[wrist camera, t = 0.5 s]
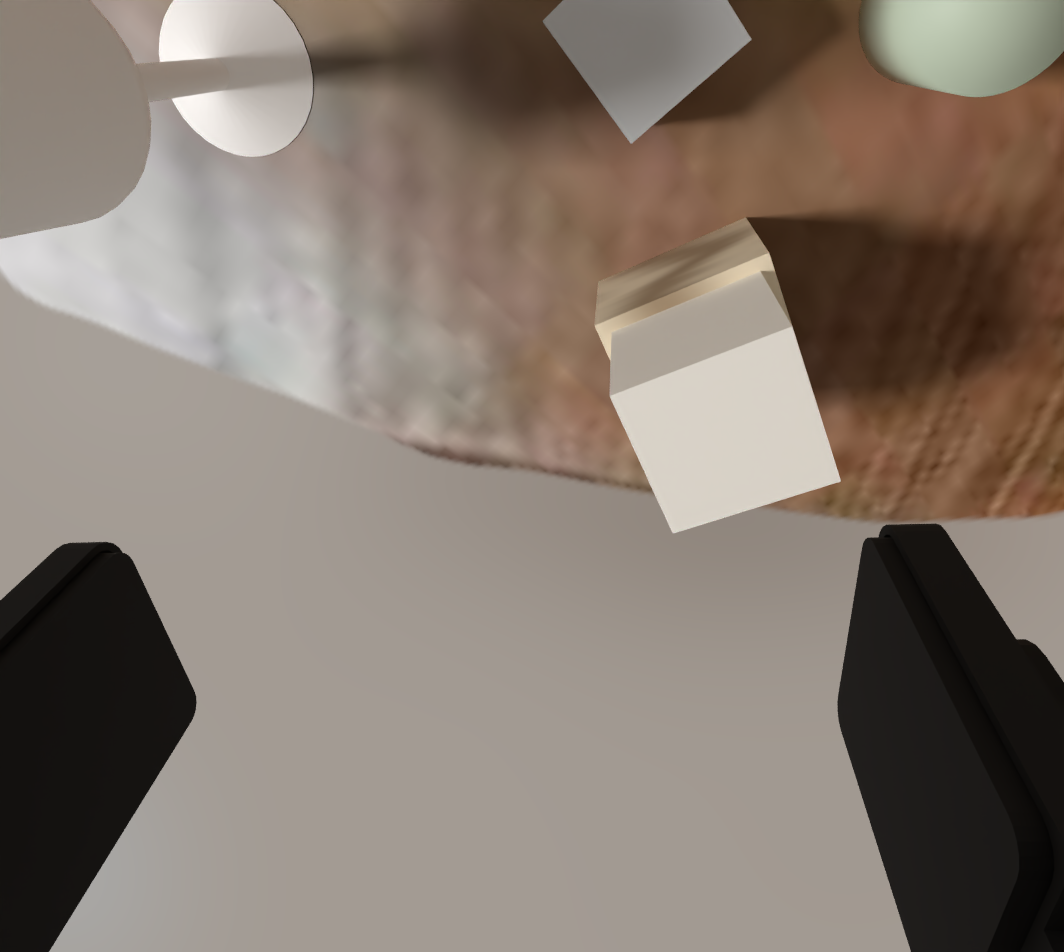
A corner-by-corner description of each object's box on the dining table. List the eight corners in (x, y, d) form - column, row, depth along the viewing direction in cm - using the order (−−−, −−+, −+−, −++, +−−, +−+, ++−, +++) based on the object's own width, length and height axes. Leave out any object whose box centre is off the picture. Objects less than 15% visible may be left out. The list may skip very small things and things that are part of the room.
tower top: (760, 270, 27) (791, 326, 22) (803, 404, 30) (840, 481, 25) (611, 331, 29) (609, 396, 24) (664, 452, 32) (673, 533, 27)
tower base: (745, 216, 32) (769, 252, 27) (790, 354, 35) (819, 409, 30) (598, 281, 34) (594, 325, 29) (652, 405, 37) (657, 465, 32)
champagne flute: (154, -44, 29) (-907, -205, 9) (319, 1, 30) (-352, -58, 9) (161, 135, 33) (-587, 313, 12) (308, 174, 33) (-191, 410, 13)
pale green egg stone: (996, -111, 26) (1088, -146, 21) (1017, 44, 28) (1106, 48, 23) (843, -32, 27) (895, -46, 22) (875, 109, 30) (929, 126, 24)
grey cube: (657, -82, 27) (663, -102, 23) (732, 37, 29) (751, 39, 25) (553, 22, 29) (542, 21, 25) (629, 127, 31) (631, 144, 27)
